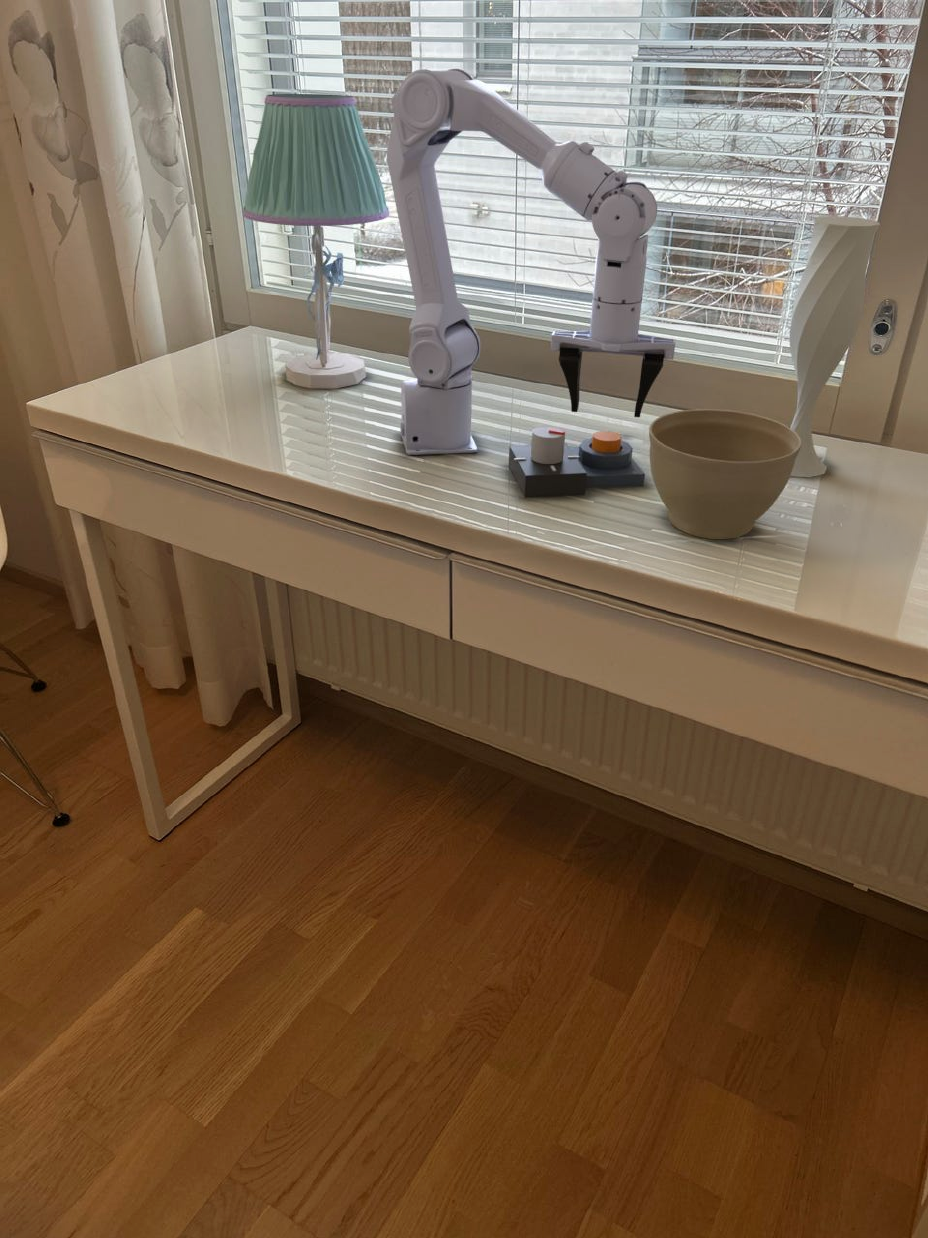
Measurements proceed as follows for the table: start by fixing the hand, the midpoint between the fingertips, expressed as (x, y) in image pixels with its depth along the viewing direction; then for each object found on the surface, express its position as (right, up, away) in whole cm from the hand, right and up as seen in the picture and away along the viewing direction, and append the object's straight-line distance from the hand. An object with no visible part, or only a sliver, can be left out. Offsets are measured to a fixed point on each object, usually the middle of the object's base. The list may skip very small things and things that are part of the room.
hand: (605, 412), depth 116 cm
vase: (+26, -5, +8) cm, 28 cm away
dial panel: (-7, -8, +2) cm, 11 cm away
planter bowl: (+11, -15, -8) cm, 20 cm away
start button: (0, -4, +3) cm, 5 cm away
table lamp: (-40, +14, +37) cm, 56 cm away
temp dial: (-7, -6, 0) cm, 9 cm away
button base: (0, -7, +4) cm, 8 cm away
